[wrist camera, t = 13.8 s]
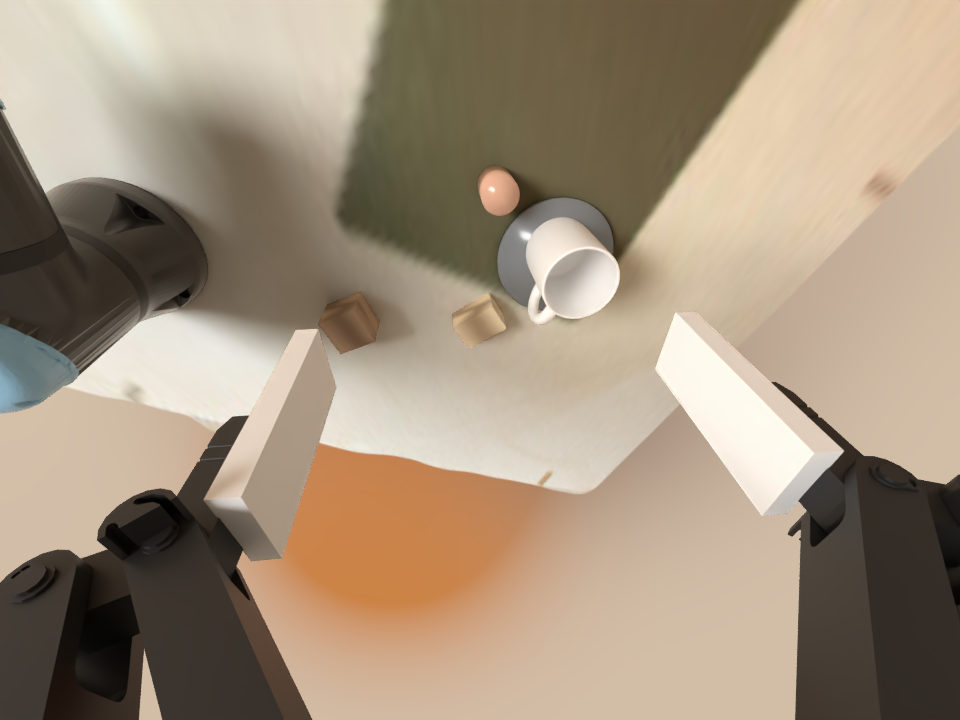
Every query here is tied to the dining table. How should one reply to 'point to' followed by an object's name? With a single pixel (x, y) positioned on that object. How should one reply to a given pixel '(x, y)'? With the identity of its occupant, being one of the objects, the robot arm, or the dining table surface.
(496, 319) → the beech block
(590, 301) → the mug
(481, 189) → the peach egg shape
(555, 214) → the gray plate
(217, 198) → the dining table surface
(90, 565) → the robot arm
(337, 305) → the walnut block
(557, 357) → the dining table surface
